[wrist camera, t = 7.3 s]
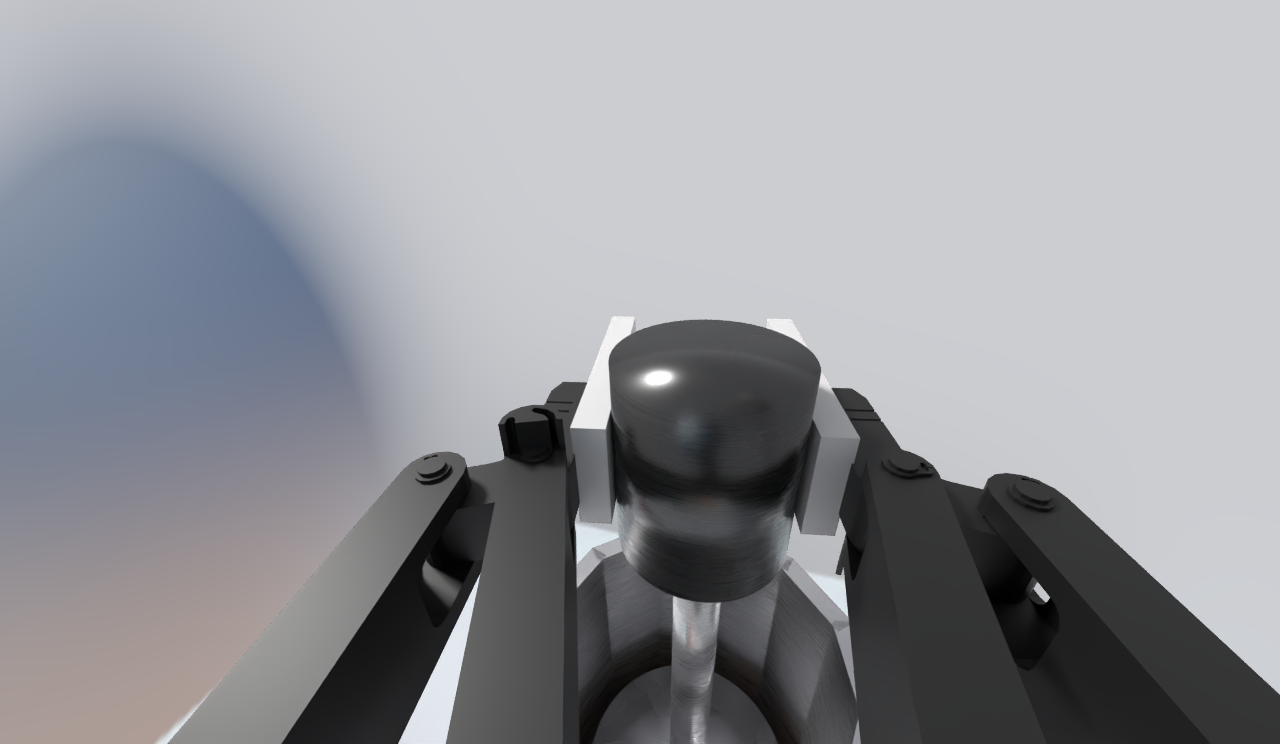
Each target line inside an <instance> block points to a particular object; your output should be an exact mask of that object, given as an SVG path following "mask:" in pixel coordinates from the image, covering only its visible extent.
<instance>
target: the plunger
mask: <svg viewBox="0 0 1280 744" xmlns="http://www.w3.org/2000/svg"><path fill="white" fill-rule="evenodd" d="M608 365H609V381H610V398H611V415H612V432H613V449H614V466H615V483H616V499H617V517H618V533H619V541H620V545H621V548H622V551H623V553H624V555H625V557H626V559H627V560H628V562H629V564H630V565H631V566H632V568H633V569H634V570H635V571H636V572H637V573H638V574H639V575H640V576H641V577H642V578H643V579H644V580H645V581H647V582H648V583H650V584H651V585H653V586H654V587H655V588H657V589H659V590H661V591H663V592H665V593H667V594H670V595H672V596H673V626H672V666H665V667H661V668H657V669H654V670H652V671H649V672H647V673H645V674H643V675H641V676H639V677H638V678H636V679H635V680H633V681H632V682H631V683H629V684H628V685H627V686H626V687H625V688H624V689H623V690H622V691H621V692H620V693H619V694H618V695H617V696H616V697H615V699H614V700H613V701H612V703H611V704H610V705H609V707H608V709H607V710H606V712H605V714H604V716H603V717H602V720H601V722H600V724H599V726H598V729H597V731H596V735H595V738H594V741H593V744H778V743H777V741H776V738H775V736H774V734H773V732H772V730H771V728H770V726H769V724H768V723H767V721H766V719H765V717H764V716H763V715H762V713H761V712H760V710H759V709H758V707H757V706H756V705H755V704H754V703H753V702H752V700H751V699H750V698H749V697H748V696H747V695H746V694H745V693H744V692H743V691H742V690H741V689H739V688H738V687H737V686H736V685H734V684H733V683H732V682H730V681H729V680H727V679H725V678H724V677H722V676H720V675H718V674H716V673H714V665H715V655H716V645H717V635H718V625H719V615H720V605H721V602H729V601H734V600H738V599H742V598H744V597H747V596H749V595H752V594H754V593H756V592H757V591H759V590H761V589H762V588H764V587H765V586H766V585H768V584H769V583H770V582H771V581H772V580H773V579H774V578H775V577H776V575H777V574H778V573H779V571H780V569H781V568H782V566H783V564H784V561H785V558H786V554H787V549H788V544H789V539H790V533H791V528H792V523H793V518H794V512H795V507H796V502H797V497H798V492H799V486H800V481H801V476H802V471H803V466H804V460H805V455H806V450H807V445H808V439H809V434H810V429H811V424H812V419H813V413H814V408H815V403H816V398H817V392H818V387H819V382H820V376H821V367H820V364H819V362H818V360H817V358H816V357H815V355H814V354H813V353H812V352H811V351H810V350H809V349H808V348H807V347H805V346H804V345H803V344H801V343H800V342H798V341H796V340H794V339H793V338H791V337H789V336H786V335H784V334H782V333H779V332H776V331H774V330H771V329H767V328H763V327H760V326H756V325H752V324H746V323H740V322H732V321H723V320H686V321H685V320H684V321H675V322H669V323H663V324H659V325H654V326H651V327H648V328H644V329H642V330H639V331H637V332H634V333H632V334H630V335H628V336H627V337H625V338H624V339H622V340H621V341H620V342H619V343H618V344H616V346H615V347H614V348H613V349H612V351H611V353H610V355H609V360H608Z"/></svg>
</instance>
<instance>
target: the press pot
mask: <svg viewBox="0 0 1280 744" xmlns="http://www.w3.org/2000/svg"><path fill="white" fill-rule="evenodd" d="M672 626H673V596H672V595H670V594H667V593H665V592H663V591H661V590H659V589H657V588H655V587H654V586H653V585H651V584H650V583H648V582H647V581H645V580H644V579H643V578H642V577H641V576H640V575H639V574H638V573H637V572H636V571H635V570H634V569H633V568H632V566H631V565H630V564H629V562H628V560H627V559H626V557H625V555H624V553H623V551H622V548H621V545H620V541H619V538H617V539H615V540H612V541H610V542H607V543H604V544H602V545H599V546H597V547H594V548H592V549H591V550H590V551H589V552H588V553H587V555H586V556H585V557H584V558H583V559H582V560H581V561H580V562H579V563H578V564H577V627H578V691H579V744H593V741H594V738H595V735H596V731H597V729H598V726H599V724H600V722H601V720H602V717H603V716H604V714H605V712H606V710H607V709H608V707H609V705H610V704H611V703H612V701H613V700H614V699H615V697H616V696H617V695H618V694H619V693H620V692H621V691H622V690H623V689H624V688H625V687H626V686H627V685H628V684H629V683H631V682H632V681H633V680H635V679H636V678H638V677H639V676H641V675H643V674H645V673H647V672H649V671H652V670H654V669H657V668H661V667H665V666H672ZM714 673H716V674H718V675H720V676H722V677H724V678H725V679H727V680H729V681H730V682H732V683H733V684H734V685H736V686H737V687H738V688H739V689H741V690H742V691H743V692H744V693H745V694H746V695H747V696H748V697H749V698H750V699H751V700H752V702H753V703H754V704H755V705H756V706H757V707H758V709H759V710H760V712H761V713H762V715H763V716H764V717H765V719H766V721H767V723H768V724H769V726H770V728H771V730H772V732H773V734H774V736H775V738H776V741H777V743H778V744H861V741H860V730H859V720H858V710H857V699H856V689H855V679H854V668H853V658H852V648H851V637H850V627H849V618H848V617H847V616H846V615H845V614H844V613H843V611H842V610H841V609H840V608H839V607H838V606H837V605H836V604H835V603H834V602H833V601H832V600H831V599H830V598H829V597H828V595H827V594H826V593H825V592H824V591H823V590H822V589H821V588H820V587H819V586H818V585H817V584H816V583H815V582H814V580H813V579H812V578H811V577H810V576H809V575H808V574H807V573H806V572H805V571H804V570H803V569H802V568H801V567H800V566H799V565H798V564H797V563H796V561H795V560H794V559H793V558H791V557H789V556H787V555H786V558H785V561H784V564H783V566H782V568H781V569H780V571H779V573H778V574H777V575H776V577H775V578H774V579H773V580H772V581H771V582H770V583H769V584H768V585H766V586H765V587H764V588H762V589H761V590H759V591H757V592H756V593H754V594H752V595H749V596H747V597H744V598H742V599H738V600H734V601H729V602H721V605H720V615H719V625H718V635H717V645H716V655H715V665H714Z"/></svg>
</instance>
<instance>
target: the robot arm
mask: <svg viewBox="0 0 1280 744" xmlns="http://www.w3.org/2000/svg"><path fill="white" fill-rule="evenodd" d="M767 329H771V330H774V331H776V332H779V333H782V334H784V335H786V336H789V337H791V338H793V339H794V340H796V341H798V342H800V343H801V344H803V345H804V346H805V347H807V346H806V344H805V342H804V341H803V339H802V337H801V336H800V334H799V332H798V330H797V328H796V327H795V325H794V324H793V322H792V320H791V319H768V320H767ZM634 332H635V317H618V316H614V317H612V320H611V323H610V325H609V328H608V331H607V333H606V336H605V338H604V341H603V344H602V346H601V349H600V351H599V354H598V356H597V359H596V362H595V364H594V367H593V370H592V372H591V375H590V377H589V380H588V382H587V383H584V382H582V383H581V382H563V383H561V384H560V385H559V386H557V387H556V388H555V389H553V390H552V391H551V393H550V395H549V397H548V399H547V401H546V403H545V405H531V406H525V407H520V408H518V409H515V410H513V411H510V412H509V413H508V414H506V415H505V416H504V417H503V418H502V419H501V421H500V422H499V424H498V426H499V431H500V436H501V441H502V445H503V451H504V459H503V460H501V461H499V462H494V463H490V464H486V465H479V466H473V467H468V468H467V465H466V462H465V458H463V457H462V456H460V455H459V454H457V453H452V452H437V453H433V454H429V455H426V456H423V457H421V458H419V459H417V460H415V461H413V462H411V463H410V464H409V465H408V466H407V467H406V468H404V469H403V470H402V472H401V473H400V474H399V475H398V476H397V477H396V479H395V480H394V481H393V482H392V483H391V484H390V486H389V487H388V488H387V489H386V490H385V491H384V493H383V494H382V495H381V496H380V497H379V498H378V500H377V501H376V502H375V503H374V504H373V505H372V506H371V508H370V509H369V510H368V511H367V512H366V513H365V515H364V516H363V517H362V518H361V519H360V520H359V522H358V523H357V524H356V525H355V526H354V527H353V529H352V530H351V531H350V532H349V533H348V534H347V536H346V537H345V538H344V539H343V540H342V541H341V542H340V544H339V545H338V546H337V547H336V548H335V549H334V551H333V552H332V553H331V554H330V555H329V556H328V558H327V559H326V560H325V561H324V562H323V563H322V565H321V566H320V567H319V568H318V569H317V570H316V572H315V573H314V574H313V575H312V576H311V577H310V579H309V580H308V581H307V582H306V583H305V584H304V586H303V587H302V588H301V589H300V590H299V591H298V592H297V594H296V595H295V596H294V597H293V598H292V599H291V601H290V602H289V603H288V604H287V605H286V606H285V608H284V609H283V610H282V611H281V612H280V613H279V615H278V616H277V617H276V618H275V619H274V620H273V622H272V623H271V624H270V625H269V626H268V627H267V629H266V630H265V631H264V632H263V633H262V634H261V636H260V637H259V638H258V639H257V640H256V641H255V642H254V644H253V645H252V646H251V647H250V648H249V650H248V651H247V652H246V653H245V654H244V655H243V657H242V658H241V659H240V660H239V661H238V662H237V663H236V665H235V666H234V667H233V668H232V669H231V670H230V672H229V673H228V674H227V675H226V676H225V677H224V678H223V680H222V681H221V682H220V683H219V684H218V685H217V687H216V688H215V689H214V690H213V691H212V692H211V694H210V695H209V696H208V697H207V698H206V699H205V701H204V702H203V703H202V704H201V705H200V706H199V708H198V709H197V710H196V711H195V712H194V713H193V715H192V716H191V717H190V718H189V719H188V720H187V722H186V723H185V724H184V725H183V726H182V727H181V728H180V730H179V731H178V732H177V733H176V734H175V735H174V737H173V738H172V739H171V740H170V741H169V742H168V744H398V743H399V741H400V738H401V736H402V734H403V732H404V730H405V728H406V726H407V724H408V722H409V720H410V718H411V716H412V714H413V712H414V709H415V707H416V705H417V703H418V701H419V699H420V697H421V695H422V693H423V691H424V689H425V687H426V685H427V682H428V680H429V678H430V676H431V674H432V672H433V670H434V668H435V666H436V664H437V662H438V660H439V658H440V656H441V653H442V651H443V649H444V647H445V645H446V643H447V641H448V639H449V637H450V635H451V633H452V631H453V629H454V626H455V624H456V622H457V620H458V618H459V616H460V614H461V612H462V610H463V608H464V606H465V604H466V602H467V600H468V597H469V595H470V593H471V591H472V589H473V587H474V585H475V583H476V581H477V579H478V577H479V575H480V579H479V584H478V589H477V594H476V598H475V603H474V608H473V613H472V618H471V623H470V628H469V633H468V638H467V643H466V648H465V652H464V657H463V662H462V667H461V672H460V677H459V682H458V687H457V692H456V697H455V702H454V706H453V711H452V716H451V721H450V726H449V731H448V736H447V741H446V744H579V691H578V627H577V564H576V531H575V522H574V521H575V518H576V514H577V511H578V507H579V516H580V522H588V523H607V524H612V518H613V513H614V507H615V502H616V483H615V466H614V449H613V432H612V415H611V398H610V381H609V365H608V360H609V355H610V353H611V351H612V349H613V348H614V347H615V346H616V344H618V343H619V342H620V341H621V340H622V339H624V338H625V337H627V336H628V335H630V334H632V333H634ZM795 516H796V519H797V522H798V526H799V529H800V532H801V534H813V535H831V536H835V533H836V529H837V526H838V522H839V518H840V519H841V521H842V523H843V526H844V528H845V531H846V536H845V540H844V543H843V547H842V550H841V554H840V557H839V561H838V565H837V569H836V574H837V575H841V573H842V570H843V567H844V575H845V586H846V596H847V606H848V617H849V627H850V637H851V648H852V658H853V668H854V679H855V689H856V699H857V710H858V720H859V730H860V741H861V744H1280V695H1279V694H1278V693H1277V692H1276V691H1275V690H1274V689H1273V688H1272V687H1271V686H1270V685H1268V683H1267V682H1265V681H1264V680H1263V679H1262V678H1261V677H1260V676H1259V675H1258V674H1257V673H1256V672H1255V671H1254V670H1252V669H1251V668H1250V667H1249V666H1248V665H1247V664H1246V663H1245V662H1244V661H1243V660H1241V658H1240V657H1238V656H1237V655H1236V654H1235V653H1234V652H1233V651H1232V650H1231V649H1230V648H1229V647H1228V646H1227V645H1226V644H1224V643H1223V642H1222V641H1221V640H1220V639H1219V638H1218V637H1217V636H1216V635H1215V634H1214V633H1213V632H1212V631H1210V630H1209V629H1208V628H1207V627H1206V626H1205V625H1204V624H1203V623H1202V622H1201V621H1200V620H1199V619H1197V618H1196V617H1195V616H1194V615H1193V614H1192V613H1191V612H1190V611H1189V610H1188V609H1187V608H1186V607H1185V606H1183V605H1182V604H1181V603H1180V602H1179V601H1178V600H1177V599H1176V598H1175V597H1174V596H1173V595H1172V594H1171V593H1169V592H1168V591H1167V590H1166V589H1165V588H1164V587H1163V586H1162V585H1161V584H1160V583H1159V582H1158V581H1156V580H1155V579H1154V578H1153V577H1152V576H1151V575H1150V574H1149V573H1148V572H1147V571H1146V570H1145V569H1144V568H1142V567H1141V566H1140V565H1139V564H1138V563H1137V562H1136V561H1135V560H1134V559H1133V558H1132V557H1131V556H1129V555H1128V554H1127V553H1126V552H1125V551H1124V550H1123V549H1122V548H1121V547H1120V546H1119V545H1118V544H1117V543H1115V542H1114V541H1113V540H1112V539H1111V538H1110V537H1109V536H1108V535H1107V534H1106V533H1104V531H1103V530H1101V529H1100V528H1099V527H1098V526H1097V525H1096V524H1095V523H1094V522H1093V521H1092V520H1091V519H1090V518H1088V517H1087V516H1086V515H1085V514H1084V513H1083V512H1082V511H1081V510H1080V509H1079V508H1078V507H1077V506H1076V505H1074V504H1073V503H1072V502H1071V501H1070V500H1069V499H1068V498H1067V497H1065V496H1064V495H1063V494H1061V493H1060V492H1059V491H1057V490H1056V489H1054V488H1052V487H1050V486H1048V485H1046V484H1044V483H1042V482H1041V481H1039V480H1036V479H1033V478H1029V477H1027V476H1022V475H1016V474H1009V473H1004V474H995V475H994V476H992V477H990V478H989V479H988V480H987V482H986V485H985V487H984V489H979V488H974V487H970V486H966V485H961V484H957V483H953V482H949V481H946V480H943V479H941V478H940V475H939V474H938V472H937V471H936V469H935V468H934V466H933V465H932V464H930V463H929V462H928V461H926V460H925V459H924V458H922V457H920V456H918V455H916V454H913V453H911V452H908V451H904V450H902V449H901V448H900V447H899V445H898V444H897V442H896V441H895V439H894V438H893V436H892V435H891V434H890V432H889V431H888V429H887V428H886V426H885V425H884V423H883V422H881V419H880V418H879V416H878V415H877V413H876V412H874V409H873V407H872V406H871V405H870V403H869V402H868V400H867V399H866V398H865V397H863V396H862V395H860V394H859V393H858V392H856V391H855V390H853V389H849V388H831V387H830V385H829V384H828V382H827V380H826V378H825V377H824V375H823V373H822V372H821V376H820V382H819V387H818V392H817V398H816V403H815V408H814V413H813V419H812V424H811V429H810V434H809V439H808V445H807V450H806V455H805V460H804V466H803V471H802V476H801V481H800V486H799V492H798V497H797V502H796V507H795ZM480 573H481V574H480ZM1037 582H1038V583H1039V584H1040V585H1041V586H1042V588H1043V589H1044V590H1045V591H1046V593H1047V594H1048V595H1049V596H1050V599H1049V600H1048V602H1044V601H1043V600H1042V599H1041V598H1040V597H1039V595H1038V594H1037V593H1036V592H1035V590H1034V589H1033V588H1034V587H1035V585H1036V583H1037Z"/></svg>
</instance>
